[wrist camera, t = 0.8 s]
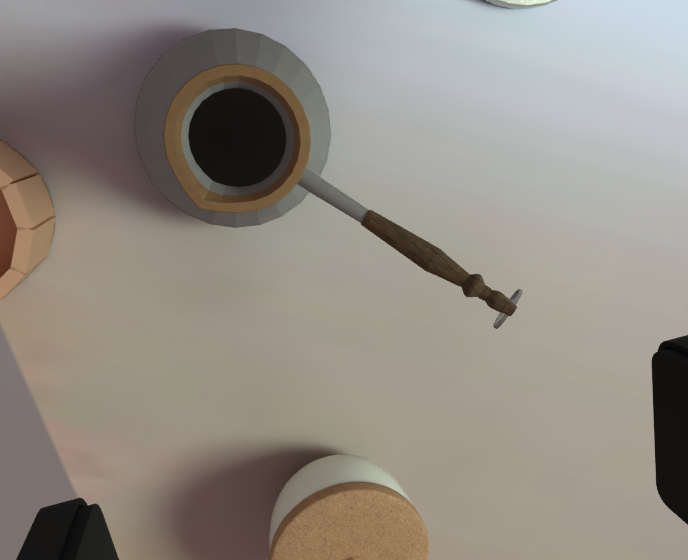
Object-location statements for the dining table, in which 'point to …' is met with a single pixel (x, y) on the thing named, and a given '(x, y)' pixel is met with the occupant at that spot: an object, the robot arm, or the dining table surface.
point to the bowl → (22, 219)
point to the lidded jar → (345, 514)
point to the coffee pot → (257, 144)
